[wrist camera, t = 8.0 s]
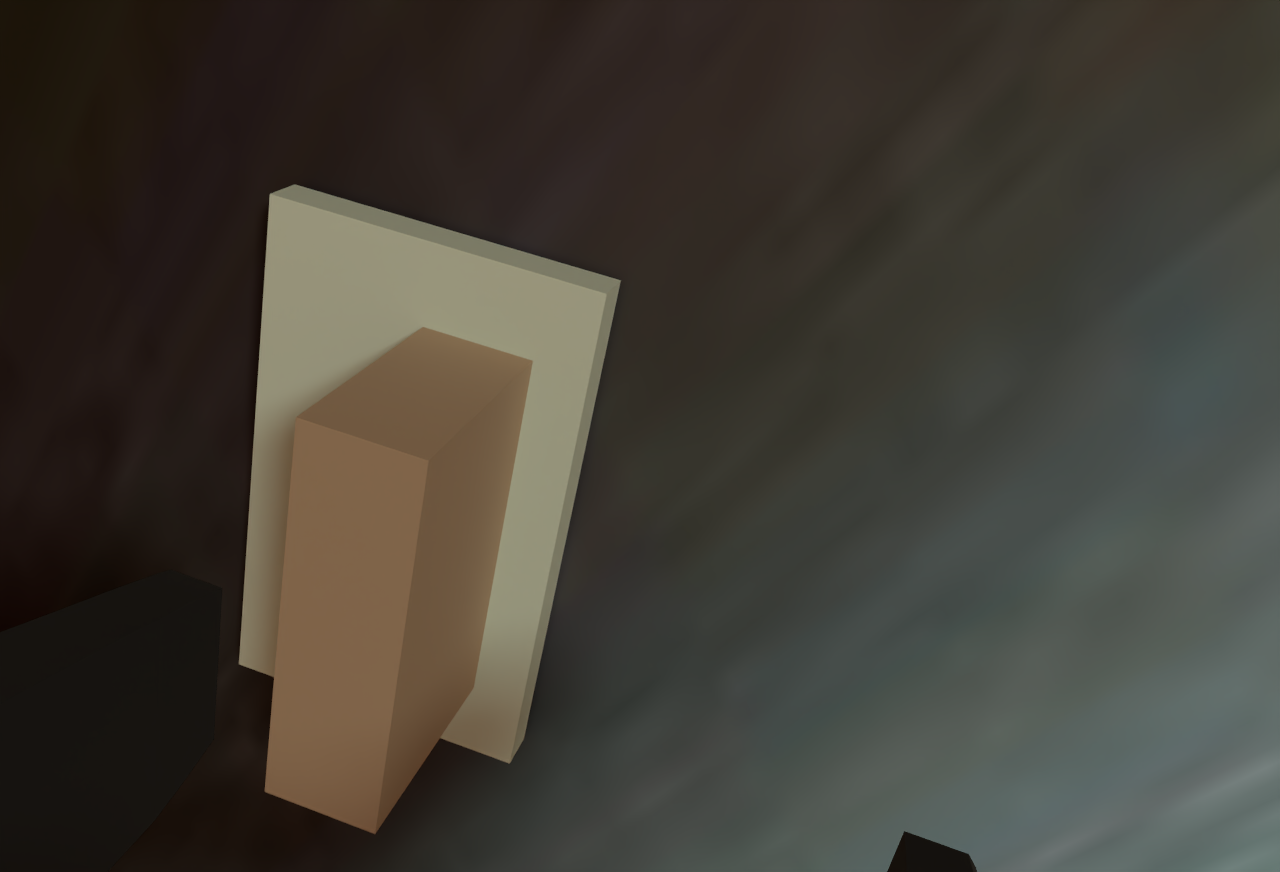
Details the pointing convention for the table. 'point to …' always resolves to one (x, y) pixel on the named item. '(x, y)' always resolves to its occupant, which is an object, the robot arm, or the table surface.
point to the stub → (407, 491)
